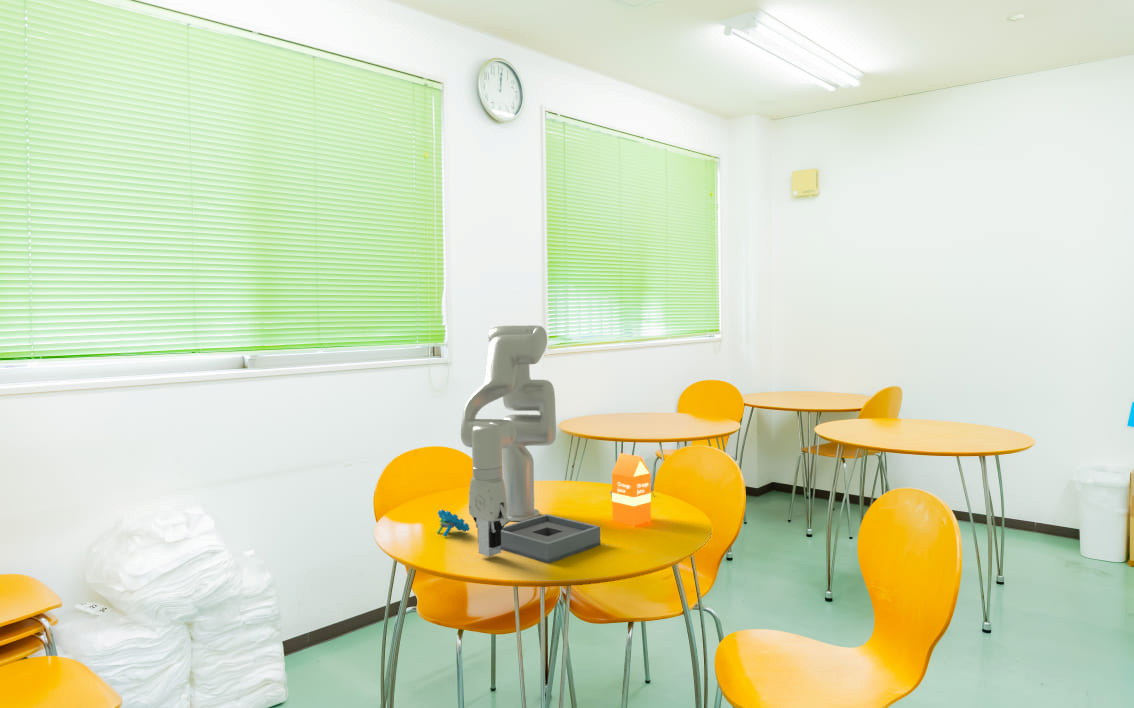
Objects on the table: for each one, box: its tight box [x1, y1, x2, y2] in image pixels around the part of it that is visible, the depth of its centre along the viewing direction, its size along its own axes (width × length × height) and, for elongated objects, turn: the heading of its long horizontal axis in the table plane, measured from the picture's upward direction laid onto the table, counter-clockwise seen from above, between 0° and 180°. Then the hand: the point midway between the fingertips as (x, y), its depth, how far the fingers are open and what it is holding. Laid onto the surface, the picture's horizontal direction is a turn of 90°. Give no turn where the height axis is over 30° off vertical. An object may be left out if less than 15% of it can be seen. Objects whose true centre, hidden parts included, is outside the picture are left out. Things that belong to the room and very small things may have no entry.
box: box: [501, 513, 601, 565], centre depth 189 cm, size 20×20×5 cm
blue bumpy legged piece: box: [436, 509, 471, 538], centre depth 200 cm, size 11×6×10 cm
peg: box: [477, 518, 502, 557], centre depth 180 cm, size 4×4×9 cm
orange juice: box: [611, 453, 652, 527], centre depth 212 cm, size 8×9×20 cm
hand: (489, 543), depth 180 cm, fingers closed on peg, 4 cm apart
